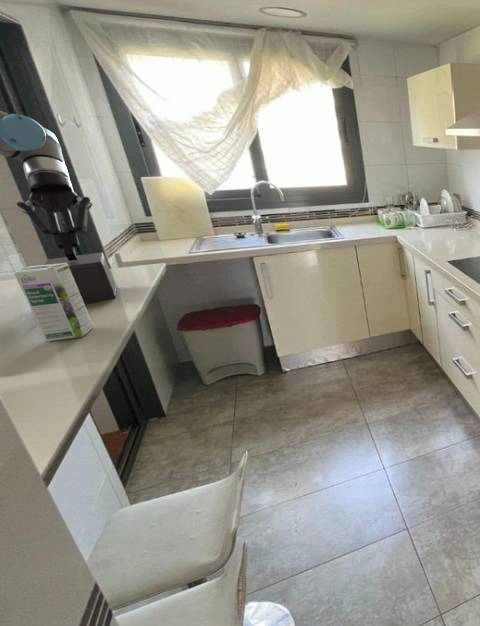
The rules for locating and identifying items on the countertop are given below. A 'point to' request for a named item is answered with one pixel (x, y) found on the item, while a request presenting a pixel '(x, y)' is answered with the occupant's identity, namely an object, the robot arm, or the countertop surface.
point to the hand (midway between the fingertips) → (71, 257)
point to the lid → (80, 261)
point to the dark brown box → (95, 283)
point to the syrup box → (55, 301)
